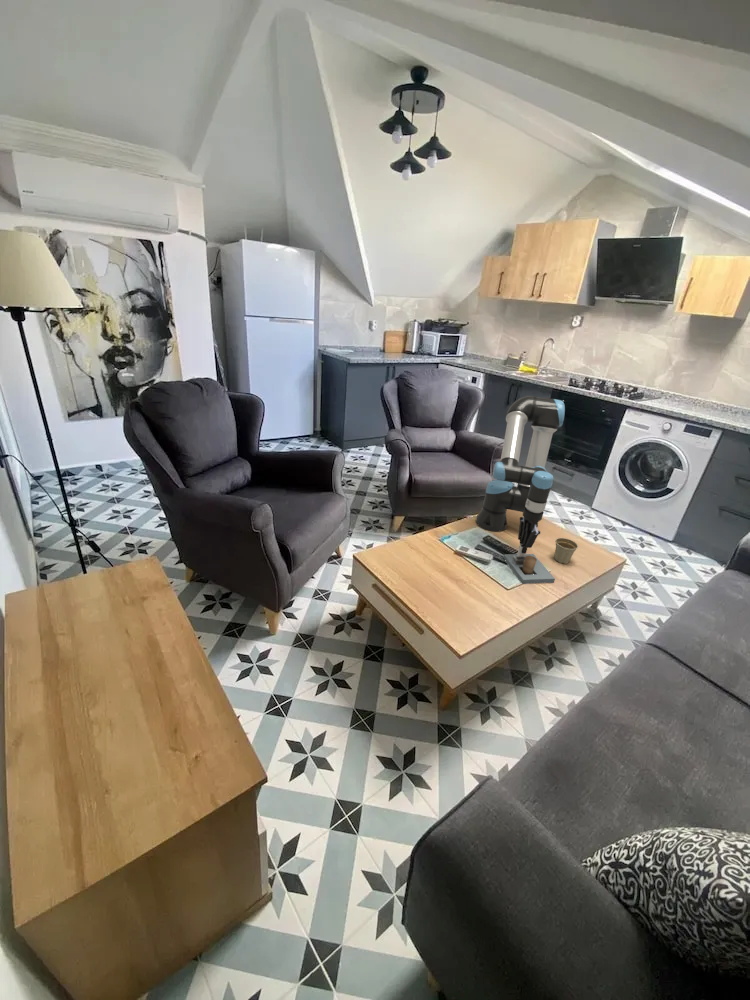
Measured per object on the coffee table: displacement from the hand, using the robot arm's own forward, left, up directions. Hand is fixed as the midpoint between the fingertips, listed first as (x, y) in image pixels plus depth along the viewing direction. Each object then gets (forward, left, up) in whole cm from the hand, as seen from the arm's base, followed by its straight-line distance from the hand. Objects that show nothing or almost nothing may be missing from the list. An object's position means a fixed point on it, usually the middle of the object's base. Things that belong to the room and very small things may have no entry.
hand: (520, 557), depth 178 cm
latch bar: (+2, 0, -1) cm, 3 cm away
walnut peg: (+7, 0, -3) cm, 8 cm away
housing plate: (+4, +2, -3) cm, 6 cm away
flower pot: (-3, +22, -4) cm, 22 cm away
